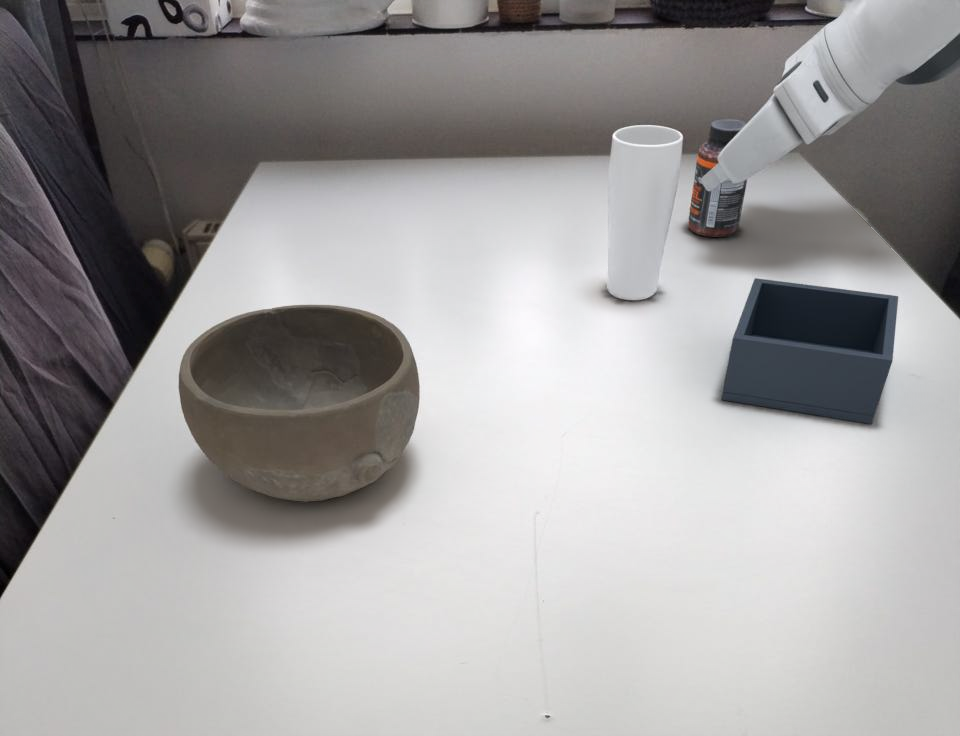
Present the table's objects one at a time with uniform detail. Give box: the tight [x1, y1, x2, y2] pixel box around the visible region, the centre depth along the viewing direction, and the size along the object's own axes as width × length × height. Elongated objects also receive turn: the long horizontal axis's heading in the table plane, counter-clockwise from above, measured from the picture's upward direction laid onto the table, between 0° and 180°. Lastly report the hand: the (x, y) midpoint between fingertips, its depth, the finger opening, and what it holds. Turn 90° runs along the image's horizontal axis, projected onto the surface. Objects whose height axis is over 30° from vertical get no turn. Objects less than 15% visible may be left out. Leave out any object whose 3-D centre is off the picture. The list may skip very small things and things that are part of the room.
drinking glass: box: [606, 124, 684, 301], centre depth 89 cm, size 7×7×15 cm
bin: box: [720, 277, 899, 425], centre depth 79 cm, size 13×13×6 cm
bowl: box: [178, 304, 421, 503], centre depth 69 cm, size 17×18×10 cm
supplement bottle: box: [687, 118, 748, 238], centre depth 102 cm, size 6×6×11 cm
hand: (715, 174), depth 102 cm, fingers closed on supplement bottle, 6 cm apart
